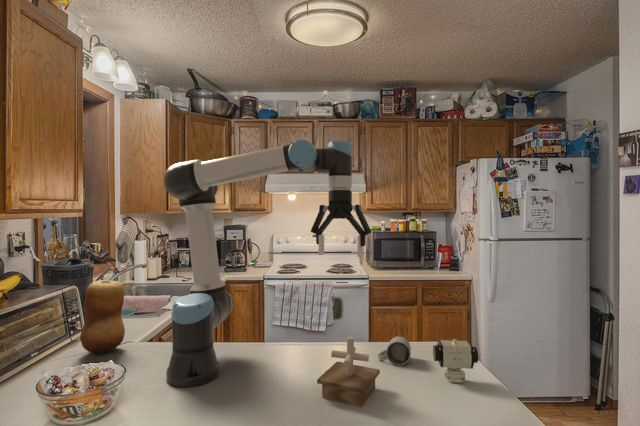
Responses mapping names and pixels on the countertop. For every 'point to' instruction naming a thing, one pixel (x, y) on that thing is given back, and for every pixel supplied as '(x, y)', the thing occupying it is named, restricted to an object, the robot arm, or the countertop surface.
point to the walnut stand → (348, 384)
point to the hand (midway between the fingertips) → (340, 255)
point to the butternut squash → (103, 317)
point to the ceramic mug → (397, 351)
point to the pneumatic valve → (455, 358)
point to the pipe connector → (350, 356)
